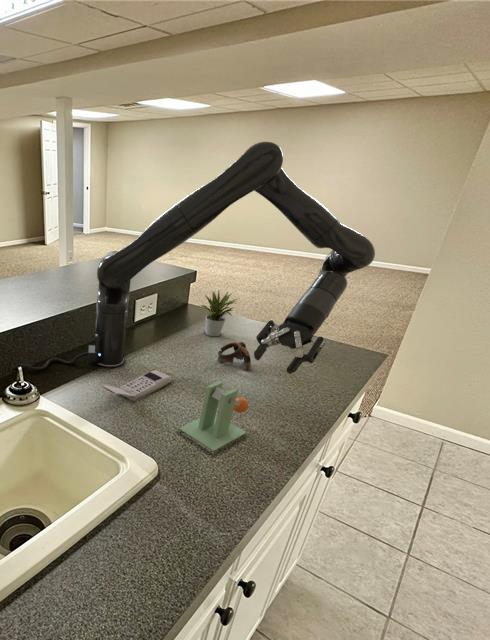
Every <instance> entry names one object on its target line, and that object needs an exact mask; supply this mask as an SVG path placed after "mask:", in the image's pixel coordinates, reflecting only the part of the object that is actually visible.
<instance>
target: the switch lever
mask: <svg viewBox="0 0 490 640" xmlns="http://www.w3.org/2000/svg"><path fill="white" fill-rule="evenodd" d="M225 392H227V391H226V390H224V389H220V388H218V387H216V389H215V391H214V393H213V394H212V397H214V398H216V399H217V400H219V401H220V400H221V396H222V394H223V393H225ZM248 408H249V401H248V400H247V399H246V398H245V397H236V401H235V405H234V409H233V411H235V412H236V413H245V412H246V411H248Z"/></svg>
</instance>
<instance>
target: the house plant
mask: <svg viewBox="0 0 490 640" xmlns="http://www.w3.org/2000/svg"><path fill="white" fill-rule="evenodd" d="M204 296H205V297H206V300H207V301H208V303H209V307H208V306H207V305H205V304H201V305H200V307H202V308H205V309H206V310H208V311H209V313H208V314H207V315H205V328H204V329H205V330H204V332H205V335H207V336H209V337H219V336H220V335H221V333H222V329H223V328H224V325H225V322H226V320H227V319H226V318H225V315H227V314H229V315H230V316H231V317H233V314H232V312H234V310H233V309H234V307H229V305H232V304H233V305H234V303H236V301H238V298H235V299H232V300H229V298H230V297H231V296H232V293H230V294H229V291H227V292H226V293H225V294H224V295H223V297H220V290H219V289H218V290H217V295H216V293H215V291H214V290H212V295H211V296H212V298H211V297H209V296H207V295H206V294H204Z"/></svg>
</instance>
